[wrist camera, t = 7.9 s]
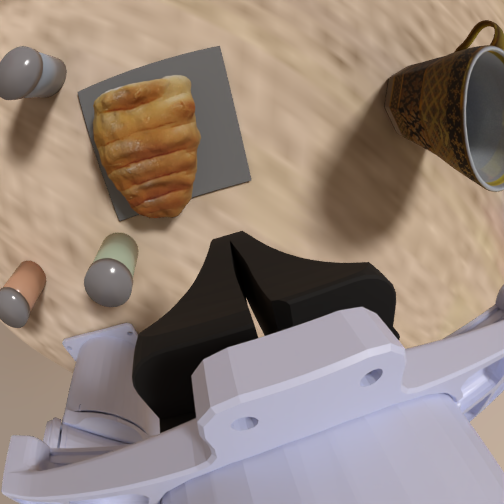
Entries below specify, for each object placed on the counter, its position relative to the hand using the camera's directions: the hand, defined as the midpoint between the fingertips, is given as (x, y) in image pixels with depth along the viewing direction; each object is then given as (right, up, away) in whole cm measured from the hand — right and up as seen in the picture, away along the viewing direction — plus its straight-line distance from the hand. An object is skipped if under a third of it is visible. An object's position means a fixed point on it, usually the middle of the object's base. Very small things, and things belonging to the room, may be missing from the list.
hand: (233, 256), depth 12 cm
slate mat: (-5, +8, +6) cm, 12 cm away
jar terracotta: (-18, -2, +9) cm, 20 cm away
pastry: (-6, +8, +6) cm, 12 cm away
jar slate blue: (-13, +12, +2) cm, 18 cm away
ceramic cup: (+15, +14, +8) cm, 22 cm away
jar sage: (-9, 0, +10) cm, 13 cm away
